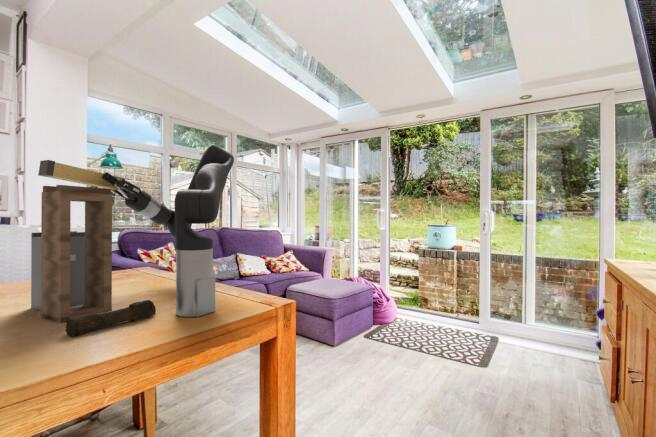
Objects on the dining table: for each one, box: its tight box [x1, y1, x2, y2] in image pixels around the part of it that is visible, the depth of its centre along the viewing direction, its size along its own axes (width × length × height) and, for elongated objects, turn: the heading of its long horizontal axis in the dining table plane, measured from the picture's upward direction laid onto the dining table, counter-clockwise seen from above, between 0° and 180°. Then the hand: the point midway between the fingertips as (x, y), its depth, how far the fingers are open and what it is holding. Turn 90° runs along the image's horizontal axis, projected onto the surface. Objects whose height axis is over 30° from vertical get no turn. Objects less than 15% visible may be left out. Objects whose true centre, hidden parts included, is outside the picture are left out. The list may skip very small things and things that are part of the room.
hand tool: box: [65, 299, 157, 338], centre depth 78 cm, size 19×4×5 cm, turn 144°
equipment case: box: [30, 230, 85, 311], centre depth 95 cm, size 9×11×21 cm
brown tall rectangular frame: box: [40, 184, 113, 324], centre depth 86 cm, size 9×12×34 cm
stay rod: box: [37, 159, 126, 190], centre depth 100 cm, size 4×22×4 cm, turn 154°
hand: (100, 175), depth 104 cm, fingers closed on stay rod, 4 cm apart
